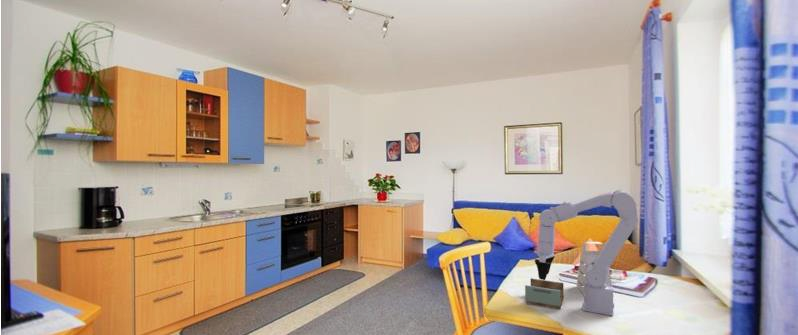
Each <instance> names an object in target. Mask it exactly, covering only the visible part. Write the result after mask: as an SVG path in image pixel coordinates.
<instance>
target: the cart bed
mask: <svg viewBox="0 0 798 335" xmlns="http://www.w3.org/2000/svg"><path fill="white" fill-rule="evenodd" d="M530 286H534V287H541V288H548V289H554V290H560V306H554V305H549V304H543V303H537V302H531V301H525V304H529V305H532V306H533V305H534V306H540V307H544V308H551V309H557V310H561V309H562V306H563V303H564V299H565V298H564V297H565V296H564V294H565V293H564V292H565V291H564V289H565V288H564V282H560V281H551V280H546V279H545V280H542V279H539V278H538V279H537V278H530Z"/></svg>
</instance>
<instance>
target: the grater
mask: <svg viewBox="0 0 798 335" xmlns="http://www.w3.org/2000/svg"><path fill="white" fill-rule="evenodd" d="M589 244H592V245H593V244H594V245H595V244H596V245H597V244H598V245H601V249H602V248H603V247H604V245H605V244H603V242H600V241H584V242H583V243H582V250H581V252H580V258H579V259H580V260H579V265H578V273H577V280H576V288H578V289H579V291H580V290H581V291H582V292H583V293H584V287H582V286H584V281H585V280H586V278H585V276H586V272H585V269H586V266H587V265H588V264H590V263H592V262H593V261H594V259H595V258H596V257H597V256H598V255H599V253H600V252H601V250H587V246H588V245H589ZM611 278H612V277H611V271H610V269H609V271H608V273H607V275H606V282H605V283H606V284H607V286H610V287H613V285H612V279H611ZM581 291H580V292H581ZM582 292H581V293H582ZM583 293H582V294H583Z"/></svg>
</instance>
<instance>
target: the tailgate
mask: <svg viewBox="0 0 798 335" xmlns="http://www.w3.org/2000/svg"><path fill="white" fill-rule="evenodd" d="M524 290H525V291H524V292H525V293H524V295H525V299H524V300H525V302H526V301H531V302H537V303H543V304H549V305H554V306H560V290H554V289H548V288H541V287H534V286H531V285H527V284H525V286H524Z"/></svg>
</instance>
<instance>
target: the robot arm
mask: <svg viewBox="0 0 798 335" xmlns="http://www.w3.org/2000/svg"><path fill="white" fill-rule="evenodd" d="M612 205H613V207H614V209H615V210H616V211H617V214H618V216H619V218H620V220H619V221H618V223H617V225H616V226H615V228H614V230H613V231H612V232H611V234H610V236H609V237H608V239H607V241H606V242H605V244H604V247H603V248H602V247H601V250H600V251H601V252H600V253H599V255H598V256H597V257H596V258H595V259H594V261H593V262H592V263H590V264H588V265H587V266H586V269H585V272H586V276H585V275H584V276H585V278H586V280H585V281H584V294H583V298H584V299H583V300H584V301H583V305H582V311H584V312H590V313H595V314H600V315H608V316H614V309H615V303H614V287H613V286H612V287H610V286H607V284H606V283H605V282H606V275H607V273H608V271H609V270H610V268H611V266H612V264H613V262H614V261H615V259H616V257H617V256H618V254H619V253H620V251H621V250H622V249H623V246H624V245H625V243H626V242H627V240H628V238H629V237H630V235H631V234H632V232H633V231H634V230H635V228H636V227H637V225H638V223H639V219H638V217H639V216H638V210H637V203H636V201H635V199H634V197H633V196H632V195H631V194H630V193H628V192H627V191H625V190H622V189H620V190H616V191H610V192H606V193H602V194H599V195H596V196H594V197H591V198H588V199H586V200H585V199H584V200H583V201H580V202H578V203H577V202H576V203H572V202H567V201H564V202H562V204H560V205H558V206H554V207H553V206H551V207H549V209H544V210H542V211H541V213H540V214H539V216H538V220H539V225H538V227H539V228H538V237H537V250H534V251H533V253H534V254H536V255H537V256H538V257H539V258H535V260H534V264H535V265H536V267H537V273H538V279H539V280H546V278H547V275H549V273H550V269H551V266H552V264H553V261H554V259H555V251H554V250H555V238H556V230H555V228H556V227H555V225H556V223H562V222H564V221H567V220H570V219H574V218H577V216H578V213H580V212H583V211H587V210H588V211H589V210H590V209H591V210H592V209H595V208H598V207H606V208H612Z"/></svg>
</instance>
